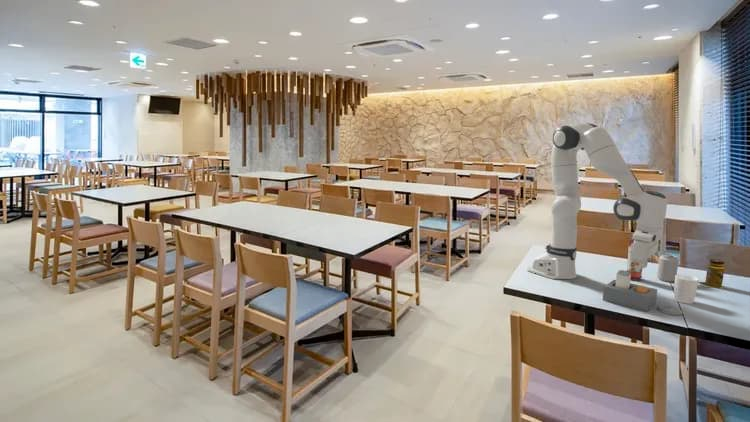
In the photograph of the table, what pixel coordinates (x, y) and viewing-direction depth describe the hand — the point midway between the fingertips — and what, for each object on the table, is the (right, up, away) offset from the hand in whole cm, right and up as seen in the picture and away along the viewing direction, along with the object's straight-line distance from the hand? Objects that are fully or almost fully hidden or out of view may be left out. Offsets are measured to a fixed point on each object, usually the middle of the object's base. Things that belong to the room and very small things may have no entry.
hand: (643, 267), depth 173 cm
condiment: (+46, -12, +26) cm, 54 cm away
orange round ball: (0, -12, +2) cm, 13 cm away
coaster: (+8, -16, -4) cm, 19 cm away
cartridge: (-5, -14, +7) cm, 17 cm away
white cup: (+21, -15, +7) cm, 26 cm away
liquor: (+16, -10, +34) cm, 39 cm away
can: (+31, -10, +33) cm, 47 cm away
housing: (-3, -15, +5) cm, 16 cm away
